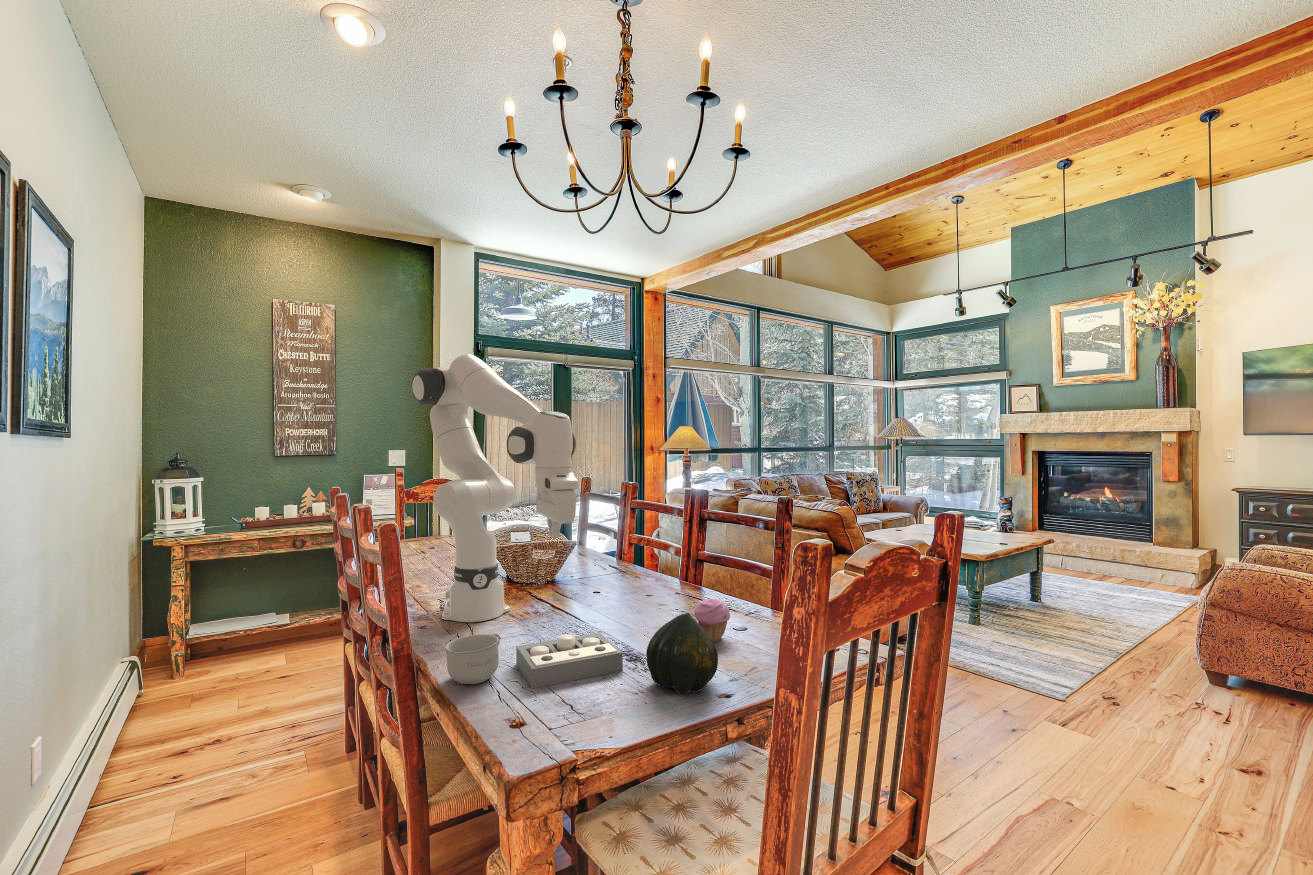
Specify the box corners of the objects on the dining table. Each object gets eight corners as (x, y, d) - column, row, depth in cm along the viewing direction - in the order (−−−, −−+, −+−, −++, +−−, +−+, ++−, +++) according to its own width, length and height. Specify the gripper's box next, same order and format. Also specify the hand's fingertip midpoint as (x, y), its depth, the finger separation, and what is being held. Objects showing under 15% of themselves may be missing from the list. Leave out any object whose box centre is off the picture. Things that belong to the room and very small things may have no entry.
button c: (580, 651, 136) (579, 639, 136) (596, 649, 137) (596, 636, 137) (585, 657, 132) (585, 644, 132) (602, 654, 134) (602, 641, 134)
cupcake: (687, 638, 148) (687, 599, 148) (708, 630, 154) (709, 592, 154) (716, 647, 142) (716, 606, 142) (736, 638, 148) (736, 599, 148)
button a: (528, 661, 130) (528, 647, 130) (546, 657, 132) (546, 644, 132) (533, 667, 127) (533, 653, 127) (551, 664, 129) (551, 650, 129)
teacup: (469, 694, 117) (469, 654, 117) (434, 682, 123) (434, 644, 123) (520, 670, 129) (520, 634, 129) (486, 660, 134) (485, 625, 134)
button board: (516, 663, 132) (516, 644, 132) (599, 649, 141) (599, 630, 141) (532, 688, 120) (532, 666, 120) (622, 670, 129) (622, 650, 128)
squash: (651, 681, 110) (697, 614, 115) (623, 656, 124) (665, 597, 128) (702, 720, 115) (744, 655, 119) (669, 692, 128) (709, 634, 132)
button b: (554, 649, 133) (554, 635, 133) (571, 646, 135) (571, 633, 135) (560, 655, 129) (560, 641, 129) (577, 652, 131) (577, 638, 131)
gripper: (529, 476, 148) (530, 531, 148) (553, 483, 129) (553, 545, 129) (554, 475, 150) (554, 529, 151) (580, 482, 132) (580, 543, 132)
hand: (554, 537), depth 140 cm, fingers closed
